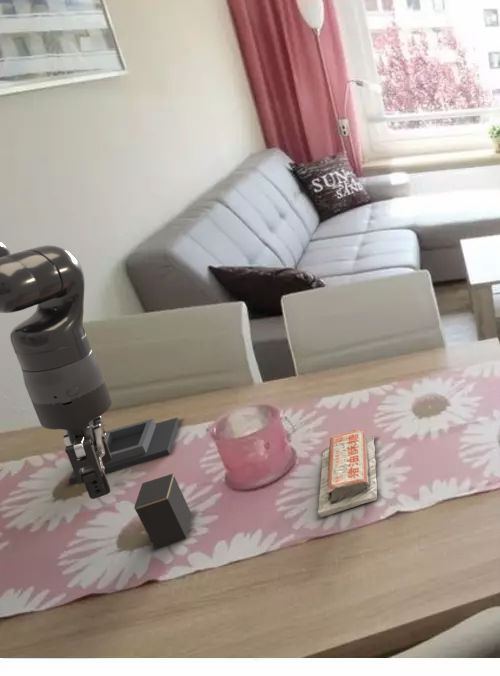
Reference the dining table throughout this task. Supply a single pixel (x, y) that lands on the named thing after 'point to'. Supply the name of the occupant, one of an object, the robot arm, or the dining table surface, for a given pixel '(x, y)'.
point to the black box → (163, 511)
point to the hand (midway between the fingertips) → (102, 478)
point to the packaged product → (347, 473)
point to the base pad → (137, 444)
